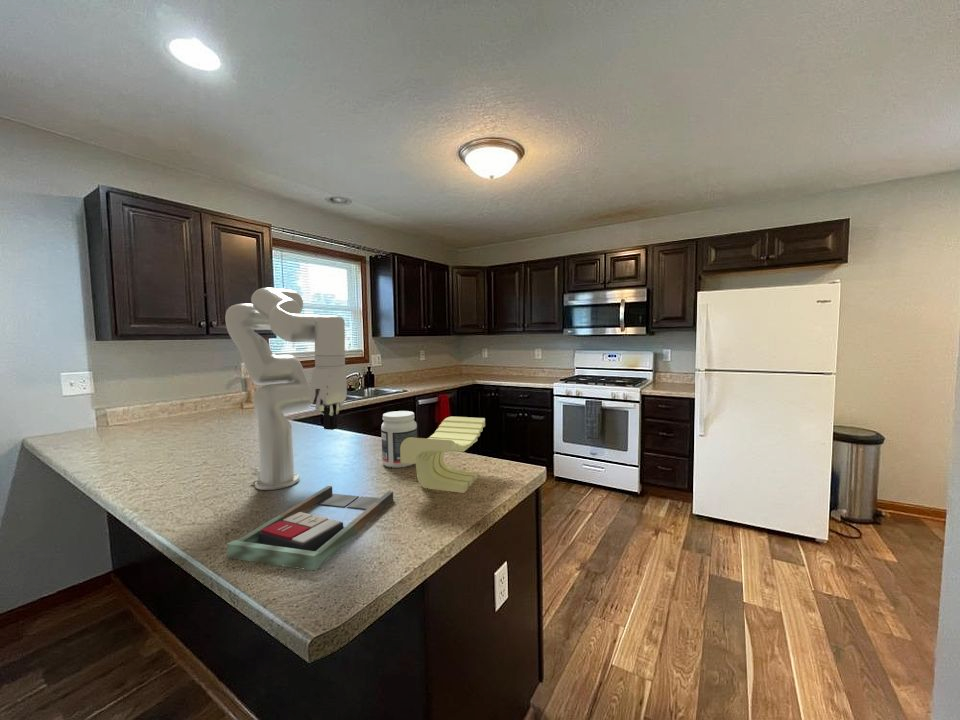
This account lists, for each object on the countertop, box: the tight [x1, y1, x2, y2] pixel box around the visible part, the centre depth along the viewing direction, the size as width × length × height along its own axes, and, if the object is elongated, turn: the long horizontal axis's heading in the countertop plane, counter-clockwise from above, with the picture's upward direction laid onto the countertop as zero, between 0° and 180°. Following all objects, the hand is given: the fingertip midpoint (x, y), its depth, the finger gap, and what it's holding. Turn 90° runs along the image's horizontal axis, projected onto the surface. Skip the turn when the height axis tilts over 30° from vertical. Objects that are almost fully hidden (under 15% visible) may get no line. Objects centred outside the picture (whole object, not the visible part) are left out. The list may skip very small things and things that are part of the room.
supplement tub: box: [380, 410, 418, 469], centre depth 141 cm, size 13×13×18 cm
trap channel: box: [226, 485, 394, 571], centre depth 95 cm, size 21×34×3 cm, turn 166°
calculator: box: [258, 512, 345, 551], centre depth 88 cm, size 11×4×15 cm
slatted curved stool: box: [400, 416, 486, 494], centre depth 122 cm, size 30×16×18 cm, turn 162°
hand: (330, 428), depth 105 cm, fingers closed
